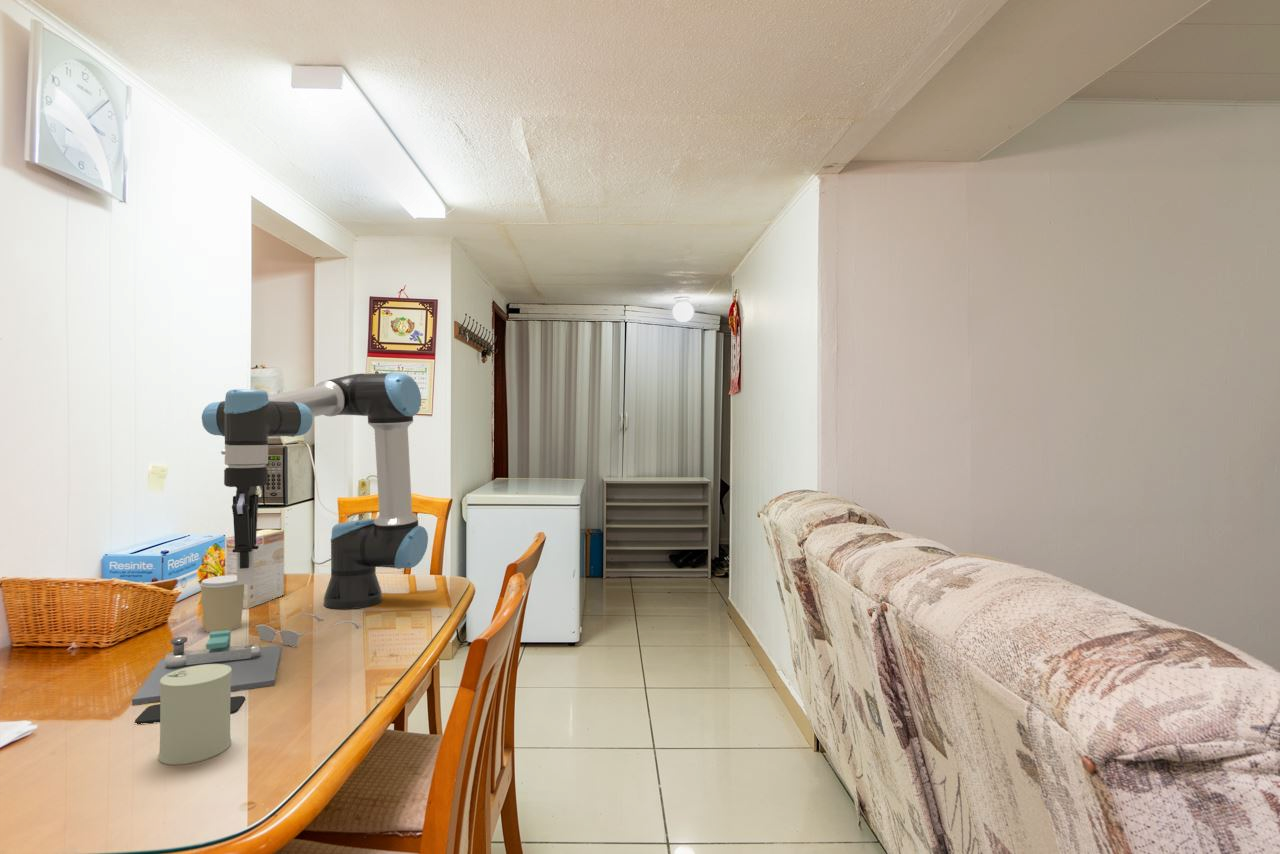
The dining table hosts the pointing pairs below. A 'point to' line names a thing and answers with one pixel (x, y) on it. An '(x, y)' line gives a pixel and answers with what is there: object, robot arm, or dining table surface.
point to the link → (208, 654)
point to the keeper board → (243, 670)
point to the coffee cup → (221, 603)
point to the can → (194, 713)
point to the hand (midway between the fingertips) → (245, 583)
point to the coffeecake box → (261, 567)
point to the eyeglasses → (287, 632)
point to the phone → (153, 712)
